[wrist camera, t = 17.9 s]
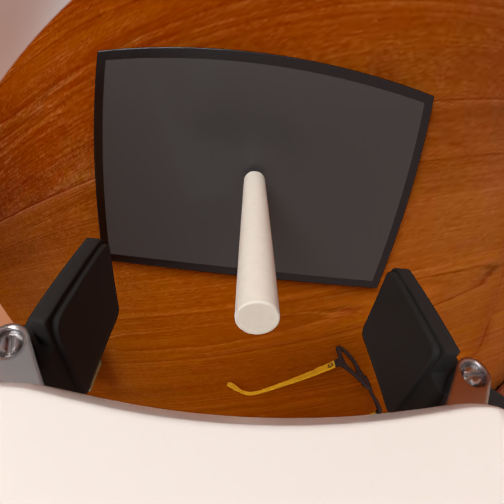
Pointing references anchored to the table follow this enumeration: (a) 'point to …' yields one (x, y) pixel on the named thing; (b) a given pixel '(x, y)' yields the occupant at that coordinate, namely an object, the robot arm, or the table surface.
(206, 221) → the tablet
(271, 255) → the stylus
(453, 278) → the table surface
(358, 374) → the eyeglasses
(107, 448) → the robot arm
